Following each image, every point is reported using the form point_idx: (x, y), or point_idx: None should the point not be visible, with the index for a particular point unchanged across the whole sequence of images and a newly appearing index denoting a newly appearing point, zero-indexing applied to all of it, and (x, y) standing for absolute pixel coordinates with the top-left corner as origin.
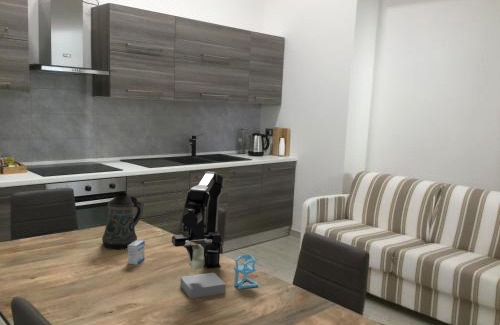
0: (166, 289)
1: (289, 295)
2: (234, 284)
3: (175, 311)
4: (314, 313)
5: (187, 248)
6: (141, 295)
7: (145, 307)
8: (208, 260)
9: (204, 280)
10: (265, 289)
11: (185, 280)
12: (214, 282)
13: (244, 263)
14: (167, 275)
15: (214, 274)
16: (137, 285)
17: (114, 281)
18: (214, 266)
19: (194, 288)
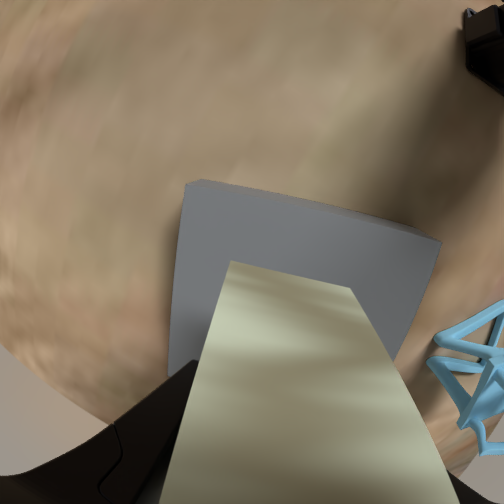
0: (111, 187)
1: (465, 433)
2: (438, 342)
3: (97, 383)
4: None
5: (73, 492)
6: (14, 196)
7: (17, 300)
8: (499, 53)
9: None
10: (470, 393)
11: (190, 259)
12: None
13: (486, 453)
14: (209, 7)
15: (422, 276)
16: (32, 84)
17: (4, 29)
18: (499, 89)
19: None
